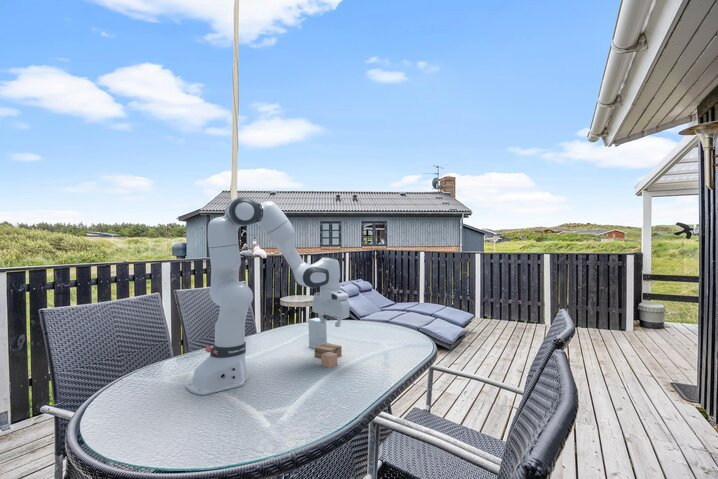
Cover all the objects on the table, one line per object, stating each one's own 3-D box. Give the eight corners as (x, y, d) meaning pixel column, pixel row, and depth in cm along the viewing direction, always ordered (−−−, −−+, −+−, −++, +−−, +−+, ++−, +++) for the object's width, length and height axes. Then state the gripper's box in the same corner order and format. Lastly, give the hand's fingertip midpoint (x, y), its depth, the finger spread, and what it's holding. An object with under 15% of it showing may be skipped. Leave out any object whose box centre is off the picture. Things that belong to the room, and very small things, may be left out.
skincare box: (327, 348, 184) (327, 319, 184) (317, 351, 179) (318, 321, 179) (317, 345, 190) (317, 316, 190) (307, 347, 185) (308, 318, 186)
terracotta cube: (329, 368, 155) (329, 356, 155) (321, 365, 159) (321, 354, 159) (337, 365, 159) (337, 354, 159) (329, 362, 162) (329, 351, 162)
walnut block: (329, 361, 165) (329, 350, 165) (314, 357, 170) (314, 347, 170) (341, 356, 172) (341, 346, 172) (326, 353, 177) (326, 342, 177)
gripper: (309, 292, 163) (308, 322, 163) (341, 297, 150) (341, 330, 150) (319, 290, 168) (319, 320, 168) (351, 295, 155) (351, 327, 155)
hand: (330, 325), depth 159 cm, fingers open, 8 cm apart
